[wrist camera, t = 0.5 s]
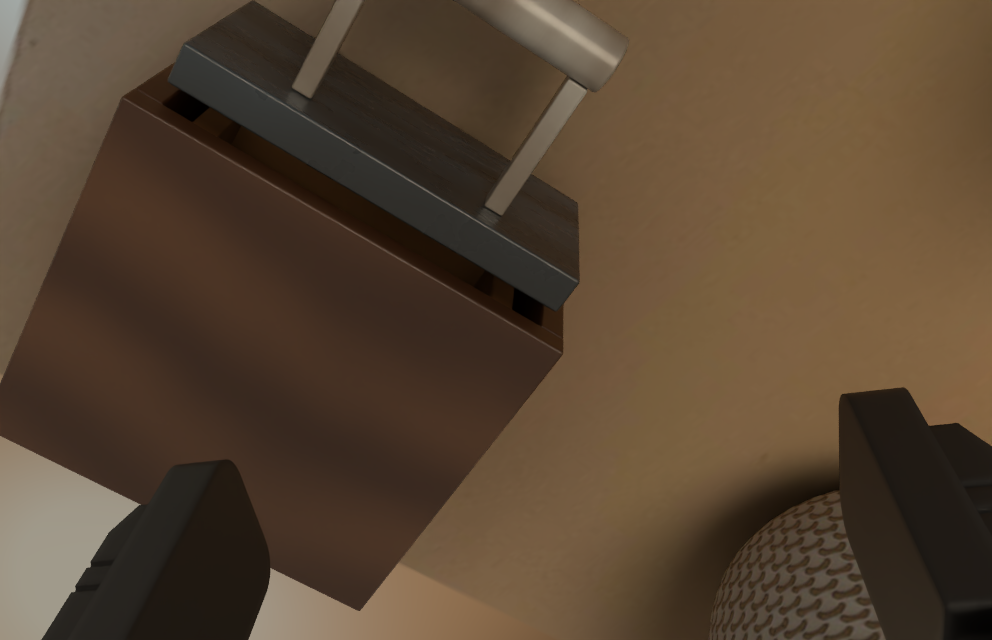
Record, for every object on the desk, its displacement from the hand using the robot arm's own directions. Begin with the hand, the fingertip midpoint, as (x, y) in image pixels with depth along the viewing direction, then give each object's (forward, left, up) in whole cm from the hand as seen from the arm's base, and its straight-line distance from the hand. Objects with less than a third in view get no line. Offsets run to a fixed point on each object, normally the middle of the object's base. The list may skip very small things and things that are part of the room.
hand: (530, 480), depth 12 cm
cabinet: (-3, -10, -20) cm, 23 cm away
